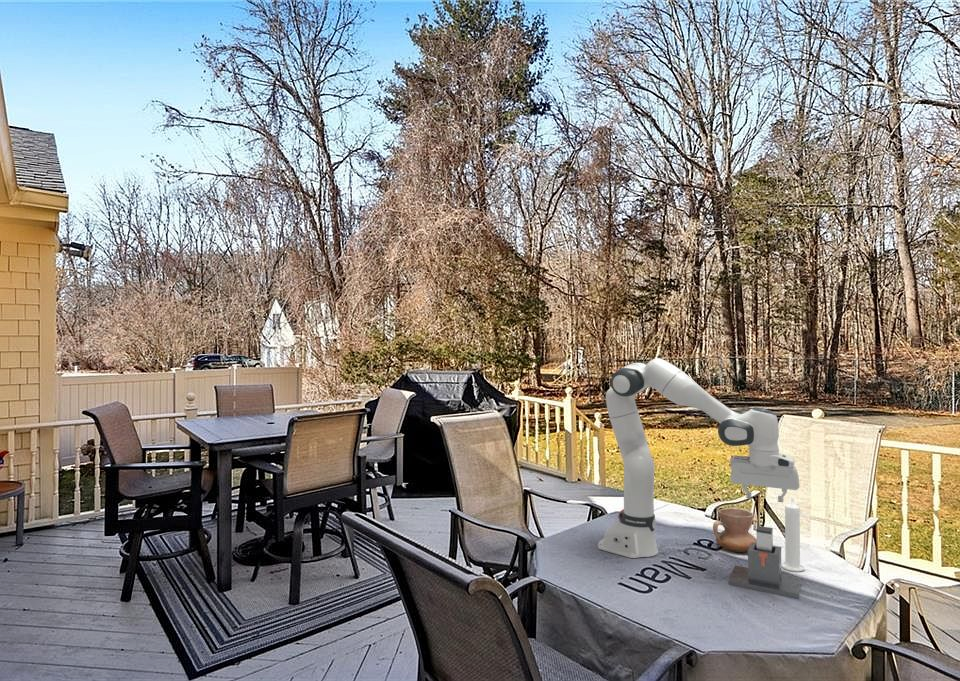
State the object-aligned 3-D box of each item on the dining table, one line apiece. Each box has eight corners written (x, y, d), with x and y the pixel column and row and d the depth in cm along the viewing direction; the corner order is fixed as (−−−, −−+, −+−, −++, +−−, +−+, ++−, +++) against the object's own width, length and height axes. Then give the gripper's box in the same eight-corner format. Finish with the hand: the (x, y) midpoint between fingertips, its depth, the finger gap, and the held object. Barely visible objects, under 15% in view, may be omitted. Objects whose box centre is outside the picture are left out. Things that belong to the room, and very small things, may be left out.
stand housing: (728, 584, 186) (728, 549, 186) (735, 569, 198) (734, 536, 198) (798, 598, 176) (798, 561, 176) (800, 582, 188) (800, 547, 188)
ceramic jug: (746, 541, 227) (745, 505, 227) (769, 554, 212) (767, 515, 212) (703, 544, 225) (702, 508, 225) (723, 557, 210) (722, 518, 210)
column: (756, 578, 186) (755, 529, 186) (757, 573, 190) (757, 525, 190) (772, 581, 184) (772, 532, 184) (773, 576, 188) (773, 527, 188)
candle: (803, 566, 201) (802, 495, 201) (805, 573, 195) (804, 500, 195) (780, 562, 204) (780, 493, 204) (781, 570, 198) (781, 498, 198)
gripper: (728, 456, 190) (728, 497, 190) (798, 462, 179) (799, 506, 179) (731, 453, 195) (731, 493, 195) (799, 459, 184) (800, 501, 184)
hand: (764, 499), depth 187 cm, fingers open, 8 cm apart
